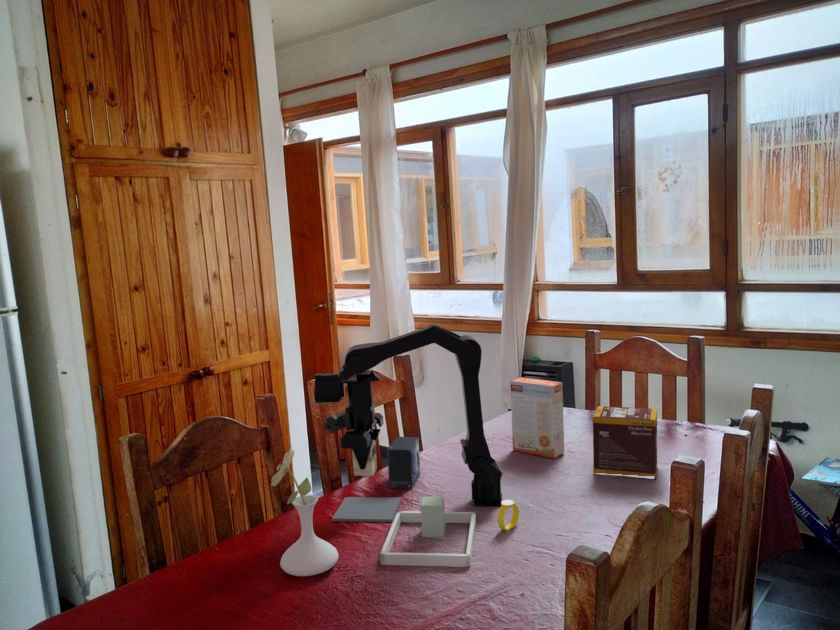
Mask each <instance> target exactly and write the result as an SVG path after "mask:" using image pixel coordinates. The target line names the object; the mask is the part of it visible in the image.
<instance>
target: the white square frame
mask: <svg viewBox="0 0 840 630" xmlns="http://www.w3.org/2000/svg"><path fill="white" fill-rule="evenodd" d="M476 513H477V512H476V511H445V524H448V523H449V524H454V523H455V524H470V525H469V529H468V530H469V531H468V538H467V546H466V552H465V553H440V552H439V553H434V552H433V553H432V552H429V553H428V552H390V551H391V549H392V546H393V544H394V541H395V539H396V537H397V533H398V531H399V529H400V526H401V523H421V510H420V511H413V510H411V511H410V510H409V511H407V510H397V512H396V514H395V517H394V519H393V522H392V524H391V526H390V529H389V532H388V534H387V537H386V539H385V541H384V544H383V546H382V549H381V550H380V553H379V559H380V560H379V561H380V566H407V567H409V566H412V567H413V566H414V567H415V566H416V567H417V566H419V567H451V568H452V567H453V568H454V567H456V568H458V567H459V568H471V564H472V556H473V547H474V543H475V534H476V526H477V514H476Z"/></svg>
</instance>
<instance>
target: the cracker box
mask: <svg viewBox="0 0 840 630" xmlns="http://www.w3.org/2000/svg"><path fill="white" fill-rule="evenodd" d="M563 393H564V392H563V382H562V381H554V380H545V379H540V378H530V377H522V376H521V377H518V378H514V379H512V380H510V403H511V404H510V407H511V410H510V411H511V431H512V432H511V434H512V435H511V436H512V438H511V439H512V450H513V451H516V450H517V451H516V452H520V451H522V453H525V452H526V453H525V454H530V453H531V454H530V455H534V454H536V455H535V456H539V455H540V457H545V458H548V457H549V458H550V459H553V458H555V459H556V458H558V457H560V456H562V455H564V454H565V433H564V432H565V431H564V430H565V429H564V426H565V425H564V395H563ZM563 453H564V454H563ZM561 454H562V455H561ZM559 455H560V456H559Z"/></svg>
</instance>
